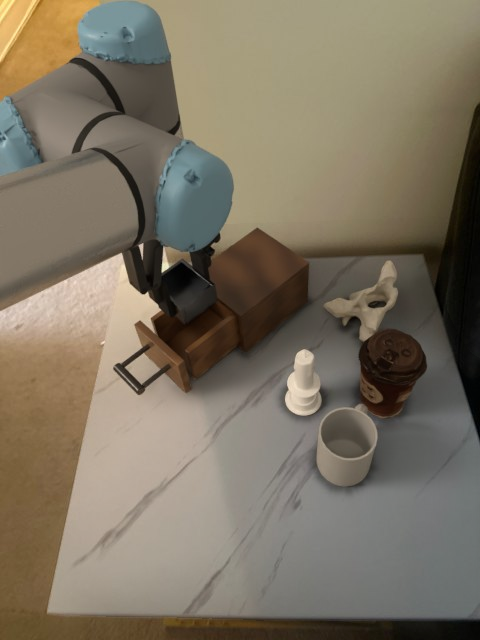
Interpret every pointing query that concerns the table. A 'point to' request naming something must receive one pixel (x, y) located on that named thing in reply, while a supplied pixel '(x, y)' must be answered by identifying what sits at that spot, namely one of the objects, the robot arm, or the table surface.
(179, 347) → the drawer
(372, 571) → the table surface
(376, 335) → the coffee cup
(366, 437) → the cup
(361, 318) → the bone
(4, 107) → the robot arm
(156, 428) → the table surface
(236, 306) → the cabinet
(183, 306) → the tray
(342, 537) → the table surface
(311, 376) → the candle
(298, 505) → the table surface
